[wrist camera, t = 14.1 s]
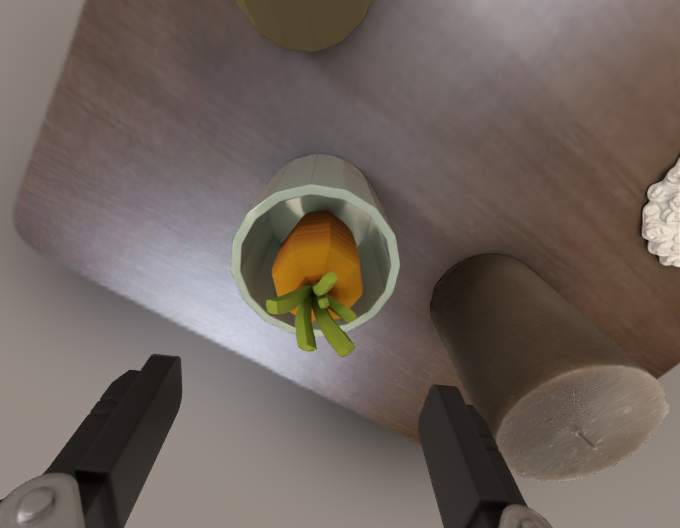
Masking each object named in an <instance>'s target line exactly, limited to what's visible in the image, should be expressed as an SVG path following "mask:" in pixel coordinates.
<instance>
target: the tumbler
mask: <svg viewBox="0 0 680 528" xmlns="http://www.w3.org/2000/svg"><path fill="white" fill-rule="evenodd" d="M322 210H328V211H329V212H331V213H332V214H334V215H335V216H336V217H338V218H339V219H340V220H342V221H343V222H344V223H345V224H346V225H347V226H348V228H349V229H350V230H351V232H352V233H353V236H354V239H355V242H356V246H357V250H358V254H359V258H360V267H361V276H362V285H363V294H362V296H361V297H360V298H359V299H358V300H357V301H356V302H355V303H354V305H353V306H352V307H351V308H350V309H351V310H352V311H353V312H354V313H355V314H356V318H355V320H354V321H353V322H349V323H347V322H345V321H344V320H343V319H334V321H335V322H336V323H337V324H338V326H339V327H340V328H341V329H342V330H343V331H344V332H346V331H349V330H352V329H353V328H355V327H357V326H359V325H360V324H362V323H364V322H365V321H367V320H369V319H370V318H372V317H374V316H375V315H376V314H377V312H378V311H379V310H380V309H381V307H382V306H383V305H384V304H385V302H386V301H387V300H388V299H389V297H390V296H391V295H392V293H393V290H394V287H395V283H396V280H397V276H398V272H399V269H400V260H399V254H398V248H397V242H396V236H395V234H394V232H393V230H392V227H391V225H390V223H389V221H388V219H387V217H386V215H385V213H384V210H383V208H382V206H381V204H380V202H379V200H378V198H377V196H376V193H375V191H374V190H373V188H372V187H371V185H370V184H369V182H368V180H367V179H366V177H365V176H364V175H363V173H362V172H361V171H360V170H358V169H357V168H356V167H355V166H354V165H352V164H351V163H349V162H347V161H345V160H343V159H341V158H338V157H335V156H331V155H325V154H313V155H307V156H303V157H300V158H297V159H295V160H292V161H291V162H289V163H288V164H286V165H285V166H283V167H282V168H281V169H280V170H279V171H278V172H276V173H275V174H274V175H273V177H272V178H271V180H270V181H269V183H268V184H267V185H266V187H265V188H264V190H263V191H262V193H261V194H260V196H259V197H258V198H257V200H256V201H255V203H254V204H253V206H252V207H251V209H250V210H249V212H248V213H247V215H246V216H245V218H244V220H243V222H242V224H241V226H240V228H239V230H238V231H237V233H236V235H235V237H234V239H233V242H232V262H231V272H232V275H233V277H234V280H235V282H236V284H237V287H238V289H239V292H240V294H241V296H242V299H243V300H244V301H245V302H246V303H247V304H248V305H249V306H250V307H251V308H252V309H253V310H254V311H255V312H256V313H257V314H258V315H259V316H260V317H261V318H262V319H263V320H264V321H266V322H268V323H270V324H272V325H274V326H277V327H279V328H281V329H283V330H285V331H287V332H289V333H294V334H296V327H295V319H296V315H294V314H293V313H291V312H287V313H285V314H271V313H268V311H267V307H266V301H267V300H268V299H271V298H275V297H278V296H277V292H276V288H275V284H274V280H273V276H272V267H273V265H274V262H275V260H276V257H277V255H278V252H279V250H280V248H281V246H282V244H283V242H284V240H285V239H286V238H287V236H288V235H289V234H290V232H291V231H292V230H293V229H294V227H295V226H296V225H297V223H298V222H299V221H300V219H301V218H302V217H303V216H304V215H305V214H306V213H308V212H315V211H322ZM312 327H313V332H314V336H319V337H320V336H324V335H323V333H322V332H321V330H320V328H319V326H318V324H317V322H312Z"/></svg>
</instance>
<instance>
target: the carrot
mask: <svg viewBox="0 0 680 528" xmlns="http://www.w3.org/2000/svg"><path fill="white" fill-rule="evenodd" d="M272 276H273V280H274V284H275V288H276V292H277V296H278V297H275V298H271V299H268V300H267V301H266V307H267V311H268V313H271V314H285V313H287V312H291V313H293V314H294V315H296V319H295V327H296V337H297V342H298V347H299V348H301V349H302V350H305V351H314V350H316V349H317V348H316V342H315V336H314V332H313V327H312V322H317V324H318V326H319V328H320V330H321V332H322V333H323V335H324V336H325V338H326V339H327V341H328V342H329V344H330V345H331V346H332V347H333V349H334V350H335V351H336V352H337V353H338V354H339V356H341V357H344V356H346V355H348V354H350V353H351V352H352V351H353V350H354V348H355V345H354V344H353V343H352V341H351V340H350V339H349V337H348V336H347V335H346V333H345V332H344V331H343V330H342V329H341V328H340V327H339V326H338V324H337V323H336V322H335V321H334V319H343V320H344V321H345V322H347V323H349V322H353V321H354V320H355V318H356V314H355V313H354V312H353V311H352V310H351V309H350V308H351V307H352V306H353V305H354V303H355V302H356V301H357V300H358V299H359V298H360V297H361V296H362V294H363V285H362V276H361V267H360V258H359V254H358V250H357V246H356V242H355V239H354V236H353V233H352V232H351V230H350V229H349V228H348V226H347V225H346V224H345V223H344V222H343V221H342V220H340V219H339V218H338V217H336V216H335V215H334V214H332V213H331V212H329V211H328V210H322V211H315V212H308V213H306V214H305V215H304V216H303V217H302V218H301V219H300V221H299V222H298V223H297V225H296V226H295V227H294V229H293V230H292V231H291V232H290V234H289V235H288V236H287V238H286V239H285V240H284V242H283V244H282V246H281V248H280V250H279V252H278V255H277V257H276V260H275V262H274V265H273V267H272Z"/></svg>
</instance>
